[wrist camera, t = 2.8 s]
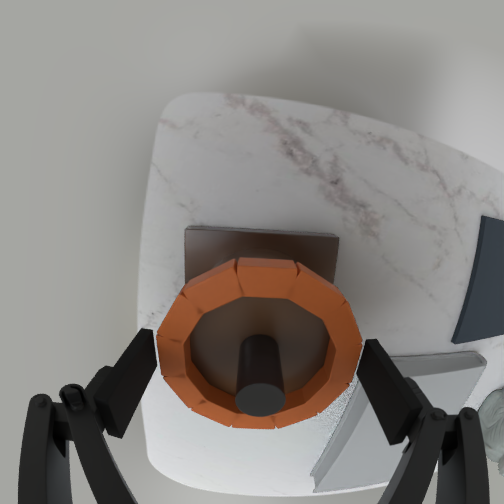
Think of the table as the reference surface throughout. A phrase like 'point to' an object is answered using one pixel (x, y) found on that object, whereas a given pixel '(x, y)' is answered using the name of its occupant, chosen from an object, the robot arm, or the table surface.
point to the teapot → (493, 427)
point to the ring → (265, 286)
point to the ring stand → (259, 318)
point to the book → (371, 433)
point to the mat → (484, 287)
